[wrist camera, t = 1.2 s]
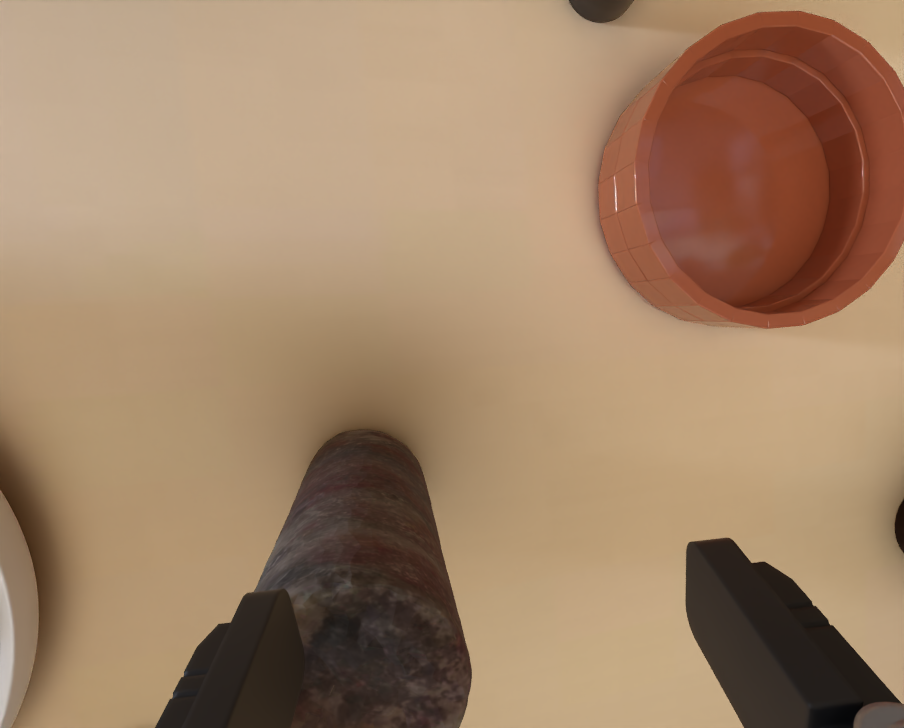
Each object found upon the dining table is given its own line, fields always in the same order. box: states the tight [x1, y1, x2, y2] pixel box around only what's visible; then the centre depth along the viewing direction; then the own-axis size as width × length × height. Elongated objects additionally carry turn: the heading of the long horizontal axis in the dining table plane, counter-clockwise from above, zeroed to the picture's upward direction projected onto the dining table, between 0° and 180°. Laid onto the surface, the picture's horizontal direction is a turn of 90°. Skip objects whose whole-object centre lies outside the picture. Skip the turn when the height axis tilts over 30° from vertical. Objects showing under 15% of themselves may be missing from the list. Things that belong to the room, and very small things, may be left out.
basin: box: [598, 11, 904, 329], centre depth 32 cm, size 17×17×6 cm
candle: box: [254, 430, 472, 728], centre depth 25 cm, size 8×7×20 cm
